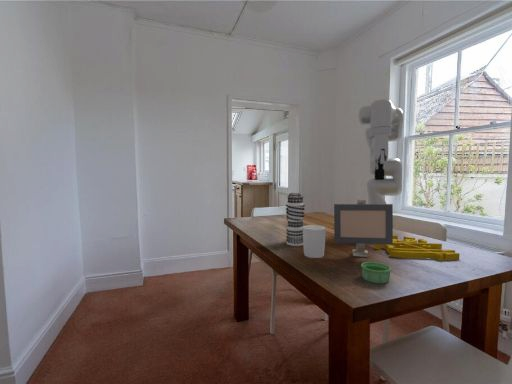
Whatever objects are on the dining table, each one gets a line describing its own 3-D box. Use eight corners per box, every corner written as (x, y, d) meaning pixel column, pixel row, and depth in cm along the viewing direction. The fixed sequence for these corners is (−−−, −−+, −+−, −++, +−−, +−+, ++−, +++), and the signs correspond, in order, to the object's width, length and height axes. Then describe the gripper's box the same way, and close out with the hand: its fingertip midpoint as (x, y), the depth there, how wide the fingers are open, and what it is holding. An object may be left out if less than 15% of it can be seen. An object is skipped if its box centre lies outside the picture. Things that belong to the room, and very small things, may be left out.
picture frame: (334, 241, 113) (334, 204, 112) (391, 243, 107) (391, 204, 106) (334, 242, 111) (334, 204, 110) (392, 244, 106) (392, 204, 105)
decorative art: (365, 233, 142) (428, 236, 136) (365, 239, 142) (428, 241, 136) (382, 252, 109) (465, 256, 103) (382, 259, 109) (465, 263, 103)
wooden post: (352, 253, 116) (353, 199, 114) (367, 254, 114) (368, 199, 113) (353, 256, 112) (354, 200, 110) (368, 257, 110) (370, 200, 108)
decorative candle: (303, 246, 127) (303, 194, 125) (283, 245, 130) (284, 193, 128) (305, 242, 135) (306, 192, 133) (287, 240, 138) (288, 192, 136)
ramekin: (391, 286, 82) (392, 272, 81) (360, 282, 85) (360, 268, 85) (390, 276, 90) (390, 263, 90) (361, 272, 93) (361, 260, 93)
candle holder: (300, 257, 110) (300, 228, 110) (304, 251, 120) (304, 224, 119) (324, 259, 107) (324, 230, 106) (326, 253, 116) (327, 225, 115)
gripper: (367, 135, 113) (366, 179, 114) (373, 130, 98) (372, 180, 100) (386, 135, 111) (385, 179, 112) (395, 129, 97) (394, 180, 98)
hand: (379, 179), depth 106 cm, fingers closed
